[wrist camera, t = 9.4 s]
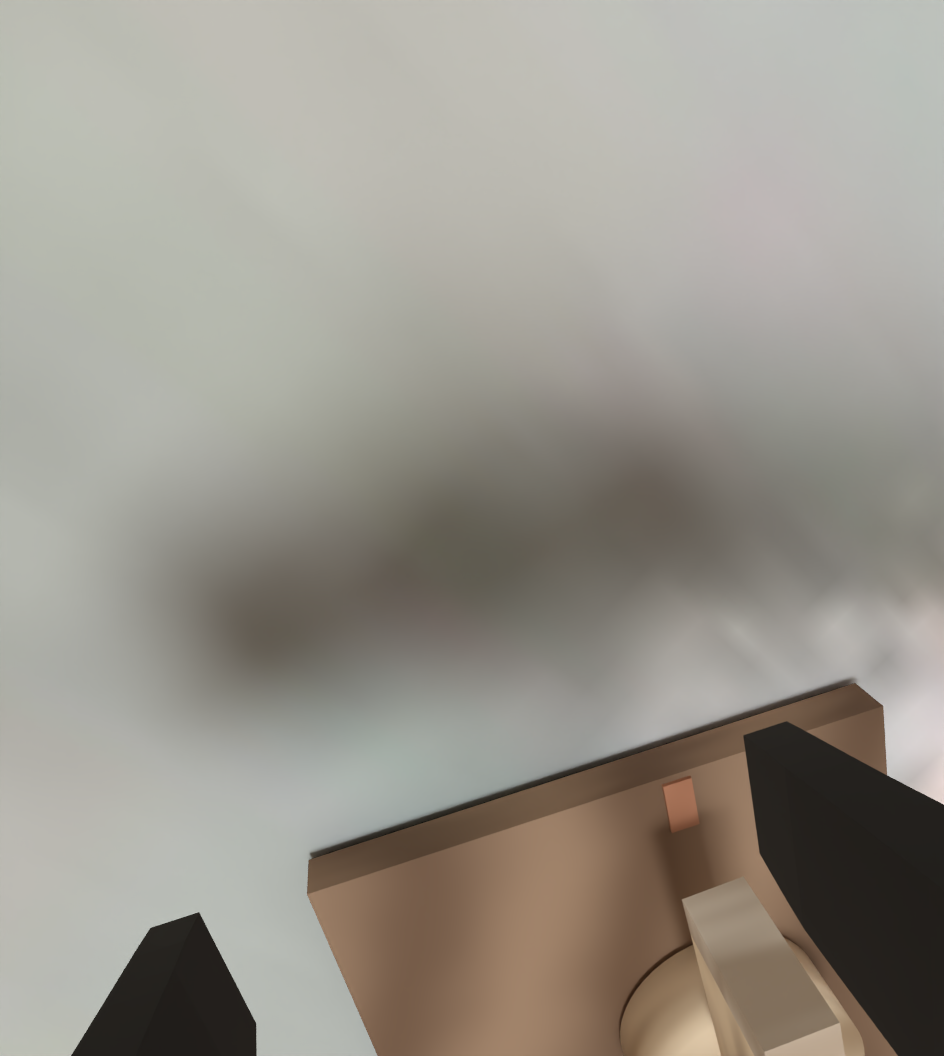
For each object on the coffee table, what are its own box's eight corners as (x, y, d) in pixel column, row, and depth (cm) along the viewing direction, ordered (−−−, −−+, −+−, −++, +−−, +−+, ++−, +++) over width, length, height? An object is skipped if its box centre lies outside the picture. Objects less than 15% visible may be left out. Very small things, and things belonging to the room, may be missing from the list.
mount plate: (855, 683, 22) (885, 707, 21) (881, 1054, 28) (906, 1090, 26) (308, 859, 21) (307, 897, 19) (457, 1207, 26) (462, 1253, 25)
